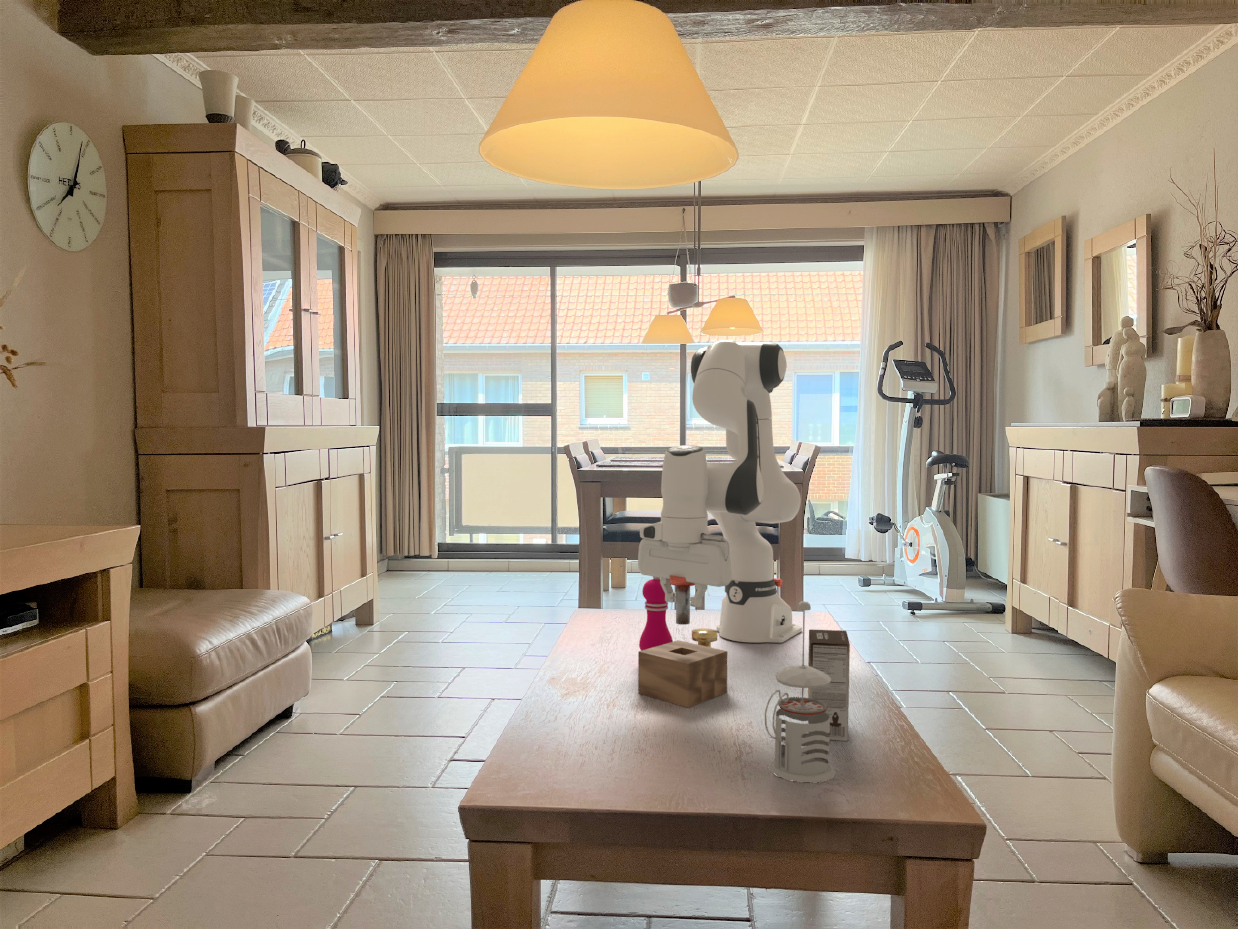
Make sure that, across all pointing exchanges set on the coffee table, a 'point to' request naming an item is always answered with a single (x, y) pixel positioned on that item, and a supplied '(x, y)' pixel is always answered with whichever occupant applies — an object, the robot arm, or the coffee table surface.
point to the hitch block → (682, 673)
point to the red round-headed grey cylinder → (682, 599)
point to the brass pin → (704, 636)
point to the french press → (801, 726)
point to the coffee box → (832, 677)
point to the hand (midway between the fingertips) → (683, 604)
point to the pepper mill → (655, 616)
